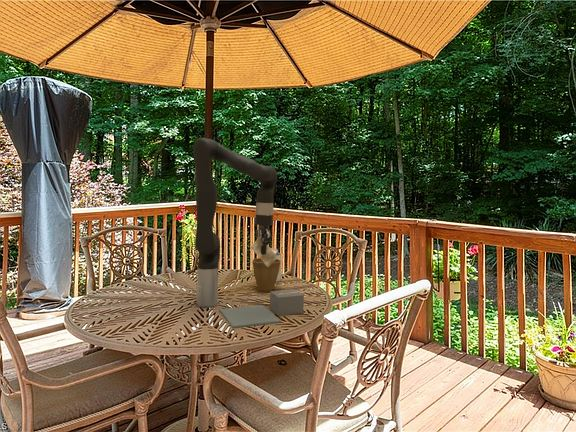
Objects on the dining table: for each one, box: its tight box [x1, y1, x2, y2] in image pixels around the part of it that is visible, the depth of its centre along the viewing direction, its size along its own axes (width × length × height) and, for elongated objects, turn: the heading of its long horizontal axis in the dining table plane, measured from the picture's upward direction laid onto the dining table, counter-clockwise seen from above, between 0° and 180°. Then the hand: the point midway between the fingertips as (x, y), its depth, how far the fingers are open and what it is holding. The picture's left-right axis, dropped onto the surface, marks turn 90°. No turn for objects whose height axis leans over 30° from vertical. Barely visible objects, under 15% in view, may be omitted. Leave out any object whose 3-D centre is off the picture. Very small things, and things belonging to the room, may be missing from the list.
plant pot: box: [251, 257, 282, 293], centre depth 213 cm, size 15×15×16 cm
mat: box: [219, 304, 282, 329], centre depth 172 cm, size 20×22×1 cm
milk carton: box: [270, 247, 282, 283], centre depth 233 cm, size 7×7×19 cm
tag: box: [249, 237, 278, 267], centre depth 173 cm, size 6×2×12 cm
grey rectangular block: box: [269, 288, 305, 317], centre depth 180 cm, size 12×10×9 cm
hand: (262, 253), depth 173 cm, fingers closed on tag, 1 cm apart
